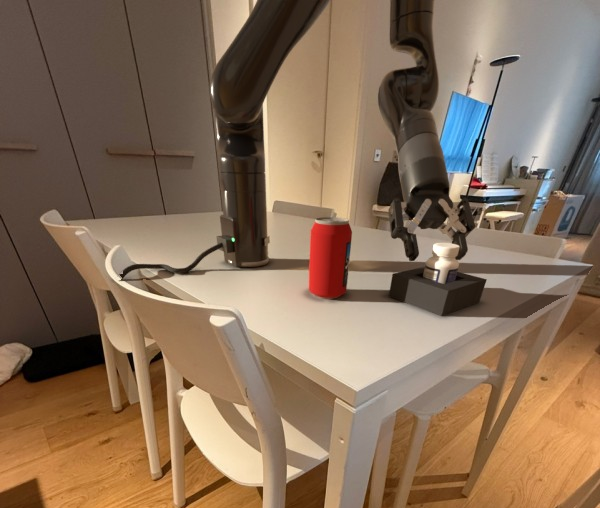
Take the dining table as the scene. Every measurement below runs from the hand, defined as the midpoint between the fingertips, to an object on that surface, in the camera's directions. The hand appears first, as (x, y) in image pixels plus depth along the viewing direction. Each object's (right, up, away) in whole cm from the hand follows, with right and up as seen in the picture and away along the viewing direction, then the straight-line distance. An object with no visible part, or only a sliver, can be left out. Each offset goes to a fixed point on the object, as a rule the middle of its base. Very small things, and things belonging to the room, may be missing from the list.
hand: (438, 258), depth 56 cm
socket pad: (0, -6, +3) cm, 7 cm away
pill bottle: (0, -6, +3) cm, 7 cm away
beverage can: (-18, -5, +4) cm, 20 cm away
